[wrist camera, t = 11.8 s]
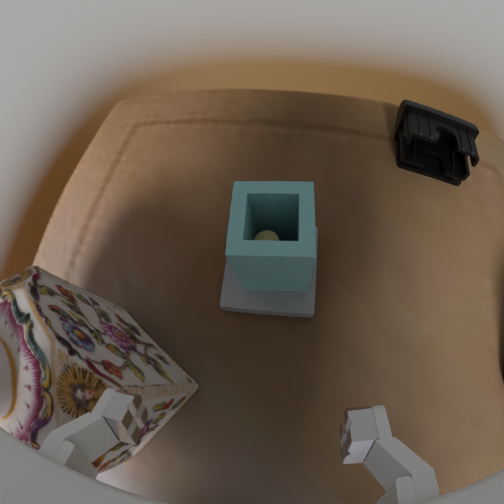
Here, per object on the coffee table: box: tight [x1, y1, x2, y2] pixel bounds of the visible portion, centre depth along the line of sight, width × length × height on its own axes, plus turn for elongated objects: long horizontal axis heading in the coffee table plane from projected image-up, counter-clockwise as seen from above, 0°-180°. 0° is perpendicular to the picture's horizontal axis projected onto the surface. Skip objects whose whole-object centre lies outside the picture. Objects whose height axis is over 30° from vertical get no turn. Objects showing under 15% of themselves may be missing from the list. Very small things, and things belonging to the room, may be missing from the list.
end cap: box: [394, 100, 479, 186], centre depth 28 cm, size 10×7×7 cm
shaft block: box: [219, 227, 318, 318], centre depth 24 cm, size 8×8×7 cm
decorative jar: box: [0, 266, 199, 474], centre depth 17 cm, size 12×12×18 cm
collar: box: [225, 181, 316, 292], centre depth 22 cm, size 5×5×8 cm
